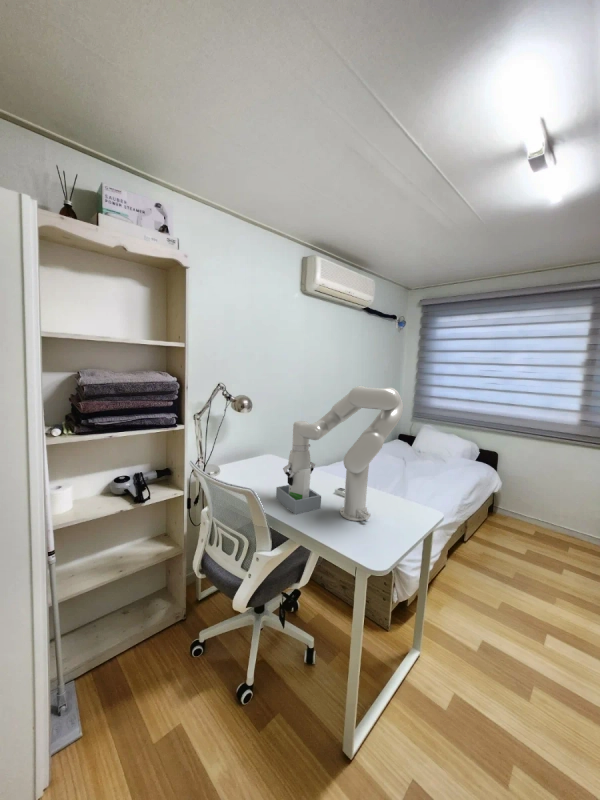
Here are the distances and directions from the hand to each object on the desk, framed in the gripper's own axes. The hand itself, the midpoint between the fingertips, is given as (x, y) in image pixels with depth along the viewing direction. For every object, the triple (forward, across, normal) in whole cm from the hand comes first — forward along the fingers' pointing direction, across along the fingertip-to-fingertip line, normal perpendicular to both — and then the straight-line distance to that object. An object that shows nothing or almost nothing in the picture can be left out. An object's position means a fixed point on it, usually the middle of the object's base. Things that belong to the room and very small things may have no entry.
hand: (298, 483), depth 145 cm
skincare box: (+8, 0, 0) cm, 8 cm away
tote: (+10, 0, 0) cm, 10 cm away
